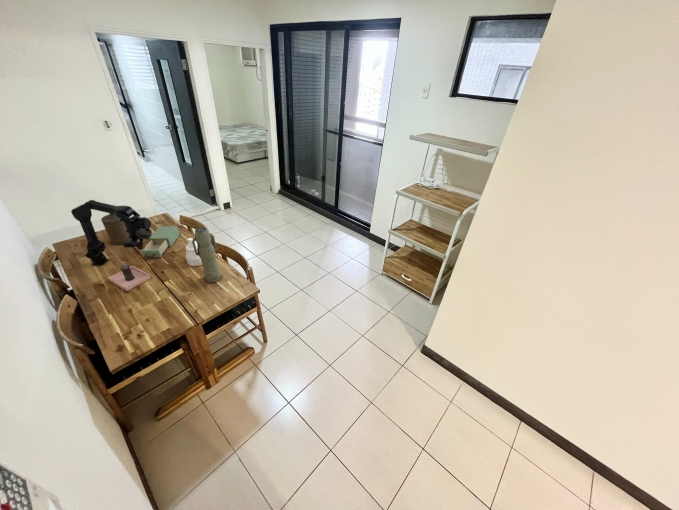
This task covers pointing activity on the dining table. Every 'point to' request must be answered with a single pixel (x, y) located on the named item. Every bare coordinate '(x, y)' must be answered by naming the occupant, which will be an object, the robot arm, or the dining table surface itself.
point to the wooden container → (115, 229)
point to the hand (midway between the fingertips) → (141, 249)
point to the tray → (128, 285)
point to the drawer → (155, 248)
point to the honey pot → (192, 254)
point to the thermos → (207, 254)
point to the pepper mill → (127, 272)
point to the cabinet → (166, 234)
